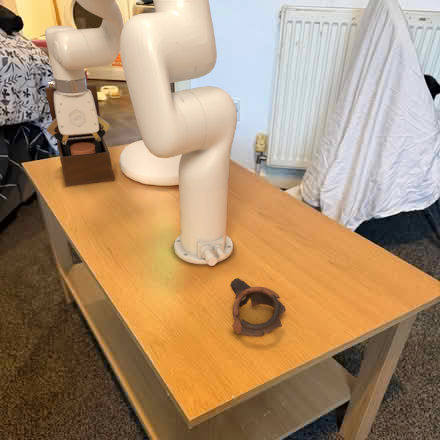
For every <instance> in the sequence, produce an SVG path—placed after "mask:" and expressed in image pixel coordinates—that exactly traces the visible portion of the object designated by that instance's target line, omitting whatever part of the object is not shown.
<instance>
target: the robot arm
mask: <svg viewBox="0 0 440 440" xmlns="http://www.w3.org/2000/svg"><path fill="white" fill-rule="evenodd" d="M75 1H76V2H77V4H78V5H80V7H82V8H83V9H84V10H86V11H87V12H88V13H91V14H93V15H95V16H97V17H99V18H101V19H102V22H101V24H100V26H99V27H95V28H93V27H92V28H91V27H90V28H79V29H77V28H75V27H73V26H70V25H52V26H48V27H47V28H46V29H45V30H44V37H45V38H44V39H45V43H46V48H47V53H48V58H49V62H50V67H51V72H52V76H53V79H52V80H49V81H48V82H47V83H48V87H53V88H55V89H56V91H54V106H55V113H56V118H55V119H54V120H53V121H52V120H51V122H50V123H49V125H48V126H47V127H46V132H47V133H48V134H50V135H51V137H54V139H55V140H56V141H57V140H58V141H60V142H61V143H62V144H63V146H64V151H65V155H68V156H71V153H70V148H69V143H68V142H67V140H68V139H69V138H68V136H69V135H82V134H92V135H93V136H92V137H94V145H95V148H96V153H99V152H101V145H100V141H101V139H102V137H103V138H104V136H105V135H106V133H107V131H108V130H109V129H110V126H111V125H110V123H109V122H108V121H106V120H105V119H104V118H102V117H101V116H100V117H99V116H98V115H97V112H96V107H95V103H94V99H93V96H92V93H91V91H90V90H89V89H87V85H88V83H87V77H86V71H85V69H90V68H98V67H105V66H109V65H111V64H113V63H114V62H116V60H117V58H118V56H120V61H121V66H122V71H123V74H124V79H125V82H126V87H127V90H128V95H129V97H130V101H131V105H132V109H133V113H134V116H135V120H136V124H137V127H138V131H139V134H140V137H141V140H143V142H144V144H145V146H146V148H147V149H148V150H149V152H150V153H151V154H153V155H154V156H156V157H158V158H170V157H175V156H178V155H182V156H181V159H180V163H179V185H178V198H179V222H180V224H179V225H180V235H178V236H177V237H176V238H175V239H174V243H173V251H174V253H175V254H176V256H177V257H178V258H179V259H181V260H183V261H184V262H187V263H191V264H194V265H208V266H210V267H214V266H215V265H216V264H218V263H219V262H223V261H225V260H227V259H228V258H229V257H230V256H231V255H232V253H233V249H234V243H233V240H232V239H231V238H230V237H229V236H228V235H227V225H228V224H227V221H228V201H229V200H228V198H229V180H230V179H229V178H230V163H231V153H232V148H233V142H234V139H235V135H236V130H237V126H238V125H237V123H238V111H237V107H236V104H235V101H234V99H233V97H232V96H231V94H229V93H228V92H227V91H226V90H225V89H223V88H220V87H218V86H209V85H206V86H198V87H193V88H187V89H183V90H179V91H173V92H172V89H171V84H174V83H179V82H185V81H191V80H196V79H199V78H202V77H205V76H207V75H209V74H210V73H212V71H213V70H214V68H215V66H216V65H217V64H216V63H217V57H218V55H217V54H218V53H217V44H216V36H215V30H214V25H213V17H212V13H211V7H210V1H209V0H152V1H153V6H154V12H144V13H143V12H142V13H137V14H135V15H133V16H131V17H129V18H128V19H127V20H126V21H125V22H124V19H123V15H122V12H121V10H120V8H119V6H118V3H117V2H116V0H75ZM98 122H99V123H100V124H101V129H100V131H99V123H98ZM57 125H58V128H59V131H60V133H61V134H62V136H61V135H60V134H59V133H57V132H56V131H55V130H54V129H55V128H56V127H57ZM98 131H99V132H98ZM97 132H98V133H97Z"/></svg>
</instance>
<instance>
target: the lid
mask: <svg viewBox="0 0 440 440" xmlns="http://www.w3.org/2000/svg"><path fill="white" fill-rule="evenodd" d="M87 89H89V90H90V91H91V93H92V96H93V99H94V103H95V107H96V112H97V115H98V116H99V117H101V111H100V103H99V96H98V95H99V94H98V87H97V85H96V84H87ZM44 91H45V96H46V100H47V104H48V108H49V113H50V117H51V122H52V121H53V120H54V119H55V118H56V113H55V106H54V91H56V89H55V88H53V87H49V86H48V87H44ZM98 123H99V122H98ZM101 128H102V125H101V124H100V123H99V131H100V129H101ZM54 130H55V131H56V132H57V133H59V134H60V135H61V136H62V134H61V133H60V131H59V128H58V125H57V127H56V128H55V129H54ZM99 131H98V132H99ZM98 132H97V133H98ZM88 137H94V136H93V135H92V134H82V135H69V136H68V139H77V138H88Z"/></svg>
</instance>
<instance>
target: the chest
mask: <svg viewBox="0 0 440 440" xmlns="http://www.w3.org/2000/svg"><path fill="white" fill-rule="evenodd" d="M67 142H68V143H69V147H70V146H71V145H72V144H75V143H80V142H88V143H92V144H94V136H89V137H78V138H68V140H67ZM56 143H57V144H56V145H57V150H58V155H59V160H60V164H61V169H62V174H63V178H64V182H65V187H72V186H79V185H80V186H81V185H89V184H97V183H105V182H113V181H115V180H114V173H113V165H112V158H111V153H110V150H109V148H108V146H107V143H106V141H105V139H104V136H103V137H102V139H101V141H100V145H101V152H99V153H92V154H82V155H72V156H68V155H65V151H64V146H63V144H62V143H61V142H60V141H58V140H57V139H56Z"/></svg>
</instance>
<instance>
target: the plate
mask: <svg viewBox="0 0 440 440" xmlns="http://www.w3.org/2000/svg"><path fill="white" fill-rule="evenodd" d="M181 156H182V155H178V156H175V157H170V158H158V157H156V156H154V155H153V154H151V153H150V152H149V150H148V149H147V148H146V146H145V144H144V142H143V140H142V139H140V140H136V141H134V142H132V143H129V144H128V145H126V146H125V147H124V148H123V150H122V151H121V152H120V154H119V161H118V164H119V169H120V171H121V173H123V174H124V175H125V176H126V178H129V179H131V180H133V181H135V182H137V183H140V184H143V185H148V186H149V185H151V186H163V187H164V186H165V187H166V186H167V187H170V186H171V187H172V186H179V163H180V159H181Z"/></svg>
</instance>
